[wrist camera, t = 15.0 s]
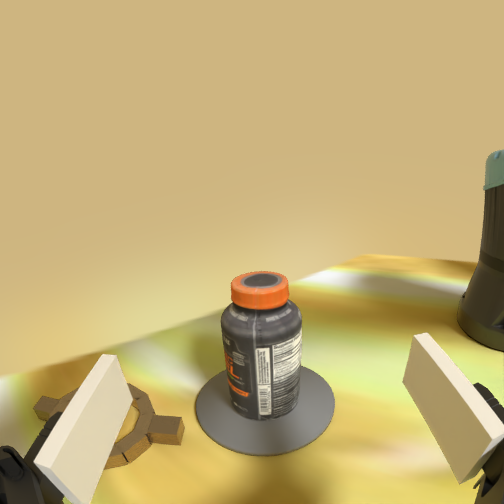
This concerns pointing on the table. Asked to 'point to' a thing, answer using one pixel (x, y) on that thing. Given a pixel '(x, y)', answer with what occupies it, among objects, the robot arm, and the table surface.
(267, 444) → the coaster
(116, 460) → the collar
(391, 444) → the table surface
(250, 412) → the pill bottle
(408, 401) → the table surface
